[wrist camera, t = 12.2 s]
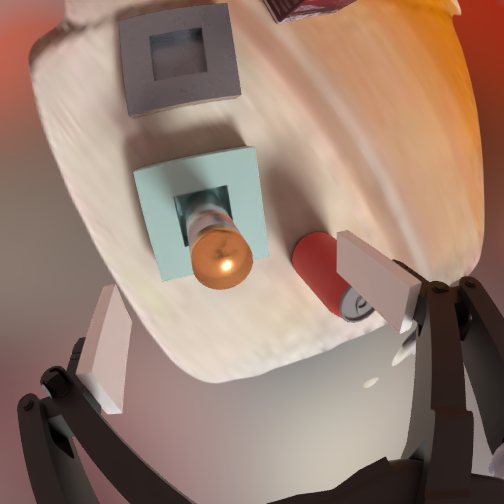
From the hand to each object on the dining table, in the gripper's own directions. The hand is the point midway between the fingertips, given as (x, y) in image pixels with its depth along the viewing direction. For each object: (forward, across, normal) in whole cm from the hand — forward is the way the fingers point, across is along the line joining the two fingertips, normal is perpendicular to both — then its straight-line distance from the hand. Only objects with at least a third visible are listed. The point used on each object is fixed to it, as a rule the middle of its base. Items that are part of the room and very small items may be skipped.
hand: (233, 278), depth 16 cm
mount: (+17, 0, +16) cm, 24 cm away
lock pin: (+17, 0, 0) cm, 17 cm away
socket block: (+17, 0, 0) cm, 17 cm away
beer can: (+17, +13, -10) cm, 24 cm away
